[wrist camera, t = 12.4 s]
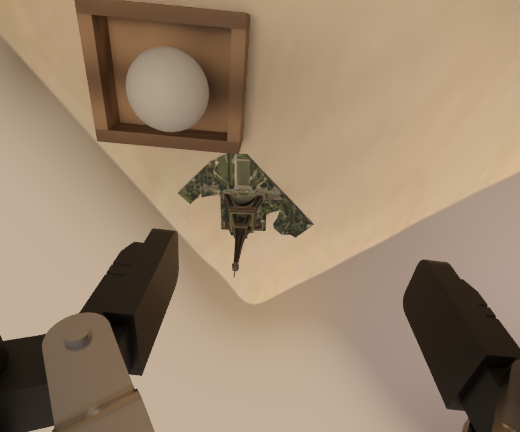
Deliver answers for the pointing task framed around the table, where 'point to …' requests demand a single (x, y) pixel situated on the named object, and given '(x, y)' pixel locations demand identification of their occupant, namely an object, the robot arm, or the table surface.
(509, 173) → the table surface
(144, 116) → the lightbulb
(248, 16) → the wooden tray
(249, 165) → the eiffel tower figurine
